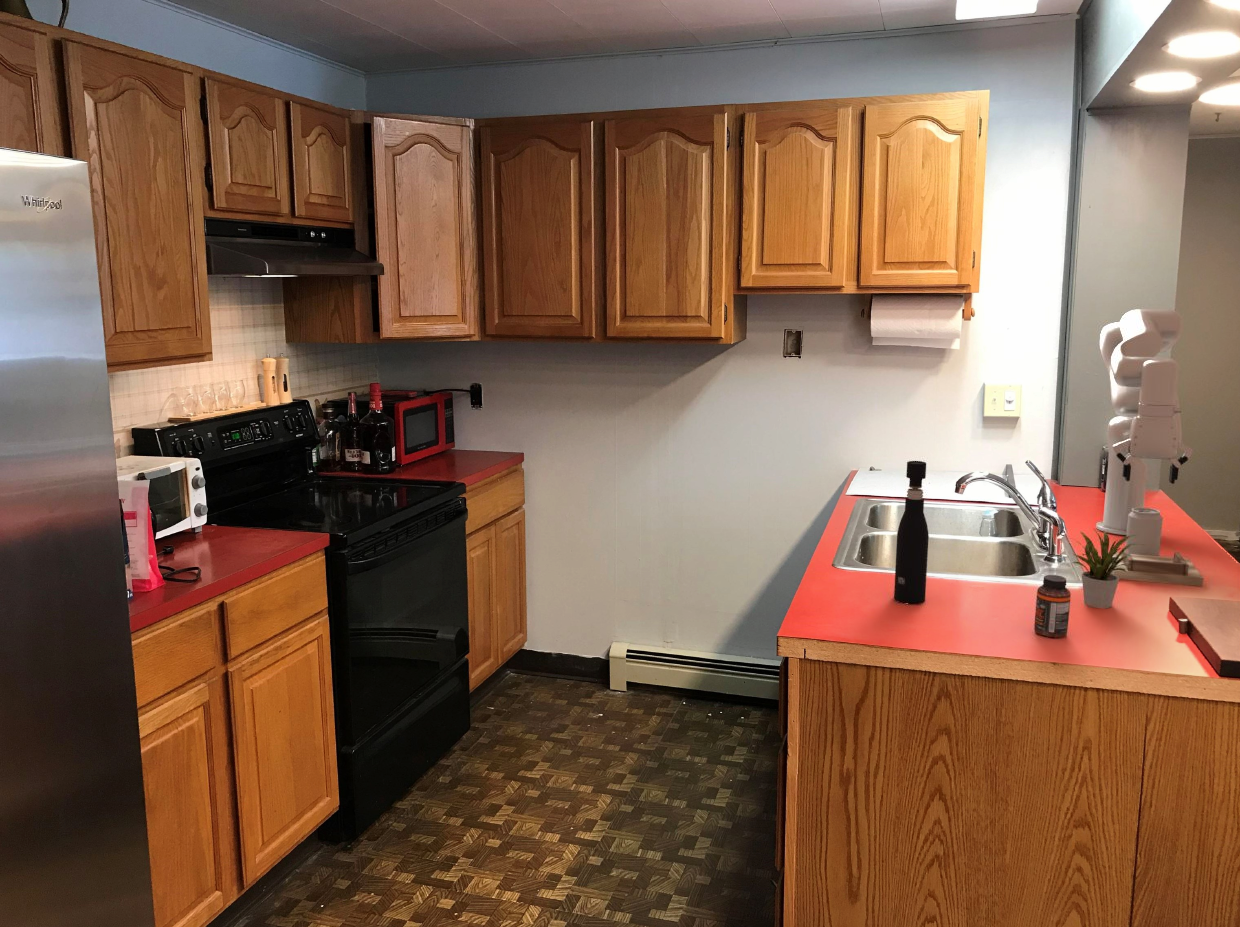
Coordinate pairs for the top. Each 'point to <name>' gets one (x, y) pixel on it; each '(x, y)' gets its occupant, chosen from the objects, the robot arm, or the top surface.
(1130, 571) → the dock
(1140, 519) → the can
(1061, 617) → the supplement bottle
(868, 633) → the top surface
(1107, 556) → the house plant
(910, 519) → the black insulated water bottle
